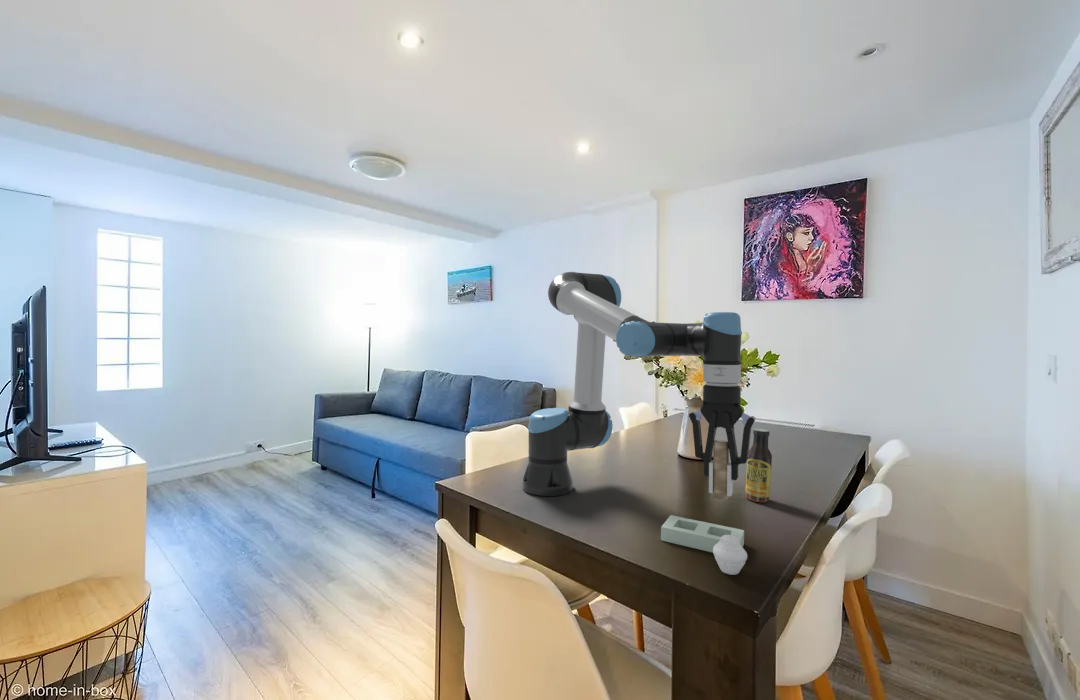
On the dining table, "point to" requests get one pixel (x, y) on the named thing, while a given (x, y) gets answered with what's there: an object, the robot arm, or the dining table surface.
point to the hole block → (696, 533)
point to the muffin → (729, 554)
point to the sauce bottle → (759, 468)
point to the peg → (720, 469)
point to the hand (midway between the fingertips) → (720, 492)
